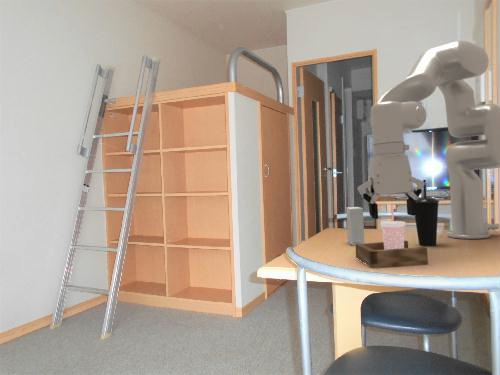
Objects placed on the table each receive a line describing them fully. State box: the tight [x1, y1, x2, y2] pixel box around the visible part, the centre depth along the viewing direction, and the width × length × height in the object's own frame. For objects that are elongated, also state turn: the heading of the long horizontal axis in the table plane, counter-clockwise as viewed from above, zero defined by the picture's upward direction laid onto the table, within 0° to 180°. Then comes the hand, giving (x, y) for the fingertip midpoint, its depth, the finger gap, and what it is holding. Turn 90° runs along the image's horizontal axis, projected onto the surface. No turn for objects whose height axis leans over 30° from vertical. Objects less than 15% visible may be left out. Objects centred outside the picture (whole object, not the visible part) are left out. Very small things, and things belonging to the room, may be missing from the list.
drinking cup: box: [414, 179, 440, 247], centre depth 120 cm, size 8×8×20 cm
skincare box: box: [346, 206, 366, 246], centre depth 129 cm, size 6×4×12 cm
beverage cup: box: [380, 202, 406, 250], centre depth 102 cm, size 6×6×14 cm
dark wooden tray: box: [354, 240, 429, 269], centre depth 102 cm, size 14×12×4 cm
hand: (393, 216), depth 102 cm, fingers open, 9 cm apart
